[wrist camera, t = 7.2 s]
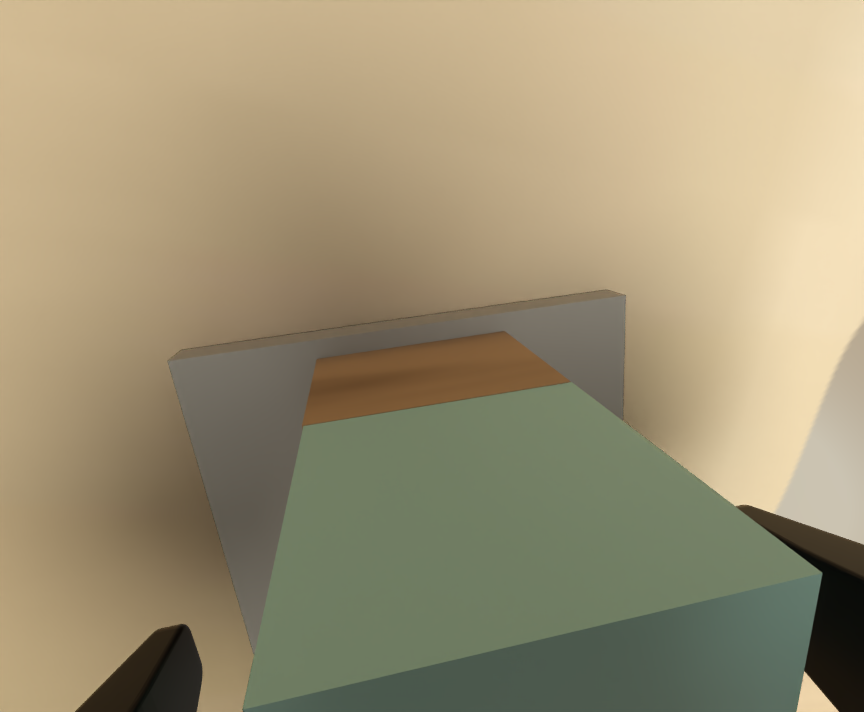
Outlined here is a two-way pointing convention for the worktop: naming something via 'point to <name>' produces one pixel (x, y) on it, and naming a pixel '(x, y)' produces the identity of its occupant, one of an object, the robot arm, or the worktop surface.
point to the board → (289, 389)
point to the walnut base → (423, 376)
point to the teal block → (521, 571)
